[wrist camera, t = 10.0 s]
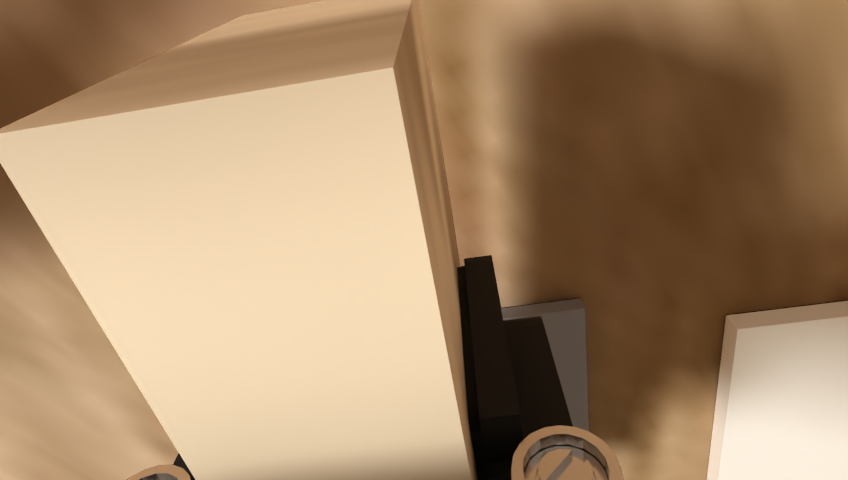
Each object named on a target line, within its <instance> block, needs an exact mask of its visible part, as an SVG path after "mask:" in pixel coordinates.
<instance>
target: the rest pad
mask: <svg viewBox="0 0 848 480" xmlns="http://www.w3.org/2000/svg"><path fill="white" fill-rule="evenodd" d="M707 480H848V301H842V302H834V303H825V304H817V305H809V306H801V307H792V308H784V309H776V310H767V311H759V312H751V313H743V314H734V315H726V320H725V329H724V337H723V346H722V354H721V363H720V371H719V380H718V388H717V397H716V406H715V414H714V423H713V431H712V440H711V448H710V457H709V465H708V474H707Z"/></svg>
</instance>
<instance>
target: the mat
mask: <svg viewBox="0 0 848 480" xmlns="http://www.w3.org/2000/svg"><path fill="white" fill-rule="evenodd" d="M501 311H502V316H503V320H511V319H520V318H528V317H537V316H541V318H542V321H543V323H544V327H545V330H546V334H547V337H548V341H549V344H550V348H551V351H552V355H553V358H554V362H555V365H556V369H557V372H558V376H559V379H560V383H561V386H562V390H563V393H564V397H565V400H566V404H567V407H568V411H569V414H570V418H571V421H572V425H573V427H577V428H580V429H583V430H586V431H588V432H589V415H588V381H587V348H586V315H585V306H584V304H583V302H582V300H581V298H579V299H571V300H564V301H556V302H548V303H540V304H532V305H524V306H516V307H508V308H501Z"/></svg>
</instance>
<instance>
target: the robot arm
mask: <svg viewBox="0 0 848 480" xmlns="http://www.w3.org/2000/svg"><path fill="white" fill-rule="evenodd" d="M464 263H465V266H461V267H457V272H458V286H459V301H460V315H461V329H462V343H463V357H464V371H465V385H466V399H467V411H468V419H469V427H470V434H471V439H472V445H473V451H474V456H475V462H476V468H477V473H478V479H479V480H624V478H623V474H622V469H621V466H620V464H619V462H618V459H617V457H616V455H615V453H614V452H613V451H612V450H611V448H610V447H609V446H608V445H607V444H606V443H605V441H603V440H602V439H600V438H599V437H597V436H596V435H594V434H593V433H591V432H588V431H586V430H583V429H580V428H577V427H573V425H572V421H571V418H570V414H569V411H568V407H567V404H566V400H565V397H564V393H563V390H562V386H561V383H560V379H559V376H558V372H557V369H556V365H555V362H554V358H553V355H552V351H551V348H550V344H549V341H548V337H547V334H546V330H545V327H544V323H543V321H542V318H541V316H537V317H528V318H520V319H511V320H503V316H502V311H501V305H500V300H499V294H498V289H497V283H496V278H495V272H494V267H493V261H492V256H491V255H489V256H482V257H474V258H466V259H464ZM127 480H195V478H194V477H193V475H192V473H191V472H190V470H189V468H188V467H187V465H186V464H185V462H184V460H183V459H182V457H181V455H180V454H178V456H177V458H176V460H175V462H174V464H173V465H158V466H155V467H152V468H148V469H145V470H143V471H141V472H139V473H137V474H135V475H133V476H131V477H129V478H128V479H127Z"/></svg>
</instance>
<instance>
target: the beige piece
mask: <svg viewBox="0 0 848 480" xmlns="http://www.w3.org/2000/svg"><path fill="white" fill-rule="evenodd" d="M0 164H1V165H2V167H3V169H4V170H5V172H6V173H7V175H8V177H9V178H10V180H11V182H12V183H13V185H14V186H15V188H16V190H17V191H18V193H19V194H20V196H21V198H22V199H23V201H24V203H25V204H26V206H27V207H28V209H29V211H30V212H31V214H32V216H33V217H34V219H35V220H36V222H37V224H38V225H39V227H40V229H41V230H42V232H43V233H44V235H45V237H46V238H47V240H48V241H49V243H50V245H51V246H52V248H53V250H54V251H55V253H56V254H57V256H58V258H59V259H60V261H61V263H62V264H63V266H64V267H65V269H66V271H67V272H68V274H69V276H70V277H71V279H72V280H73V282H74V284H75V285H76V287H77V289H78V290H79V292H80V293H81V295H82V297H83V298H84V300H85V301H86V303H87V305H88V306H89V308H90V310H91V311H92V313H93V314H94V316H95V318H96V319H97V321H98V323H99V324H100V326H101V327H102V329H103V331H104V332H105V334H106V336H107V337H108V339H109V340H110V342H111V344H112V345H113V347H114V348H115V350H116V352H117V353H118V355H119V357H120V358H121V360H122V361H123V363H124V365H125V366H126V368H127V370H128V371H129V373H130V374H131V376H132V378H133V379H134V381H135V383H136V384H137V386H138V387H139V389H140V391H141V392H142V394H143V396H144V397H145V399H146V400H147V402H148V404H149V405H150V407H151V408H152V410H153V412H154V413H155V415H156V417H157V418H158V420H159V421H160V423H161V425H162V426H163V428H164V430H165V431H166V433H167V434H168V436H169V438H170V439H171V441H172V443H173V444H174V446H175V447H176V449H177V451H178V452H179V454H180V455H181V457H182V459H183V460H184V462H185V464H186V465H187V467H188V468H189V470H190V472H191V473H192V475H193V477H194V478H195V480H479V479H478V473H477V468H476V462H475V456H474V451H473V445H472V439H471V434H470V427H469V419H468V411H467V399H466V385H465V371H464V357H463V343H462V329H461V315H460V301H459V286H458V272H457V267H460V261H459V254H458V248H457V241H456V235H455V229H454V222H453V216H452V209H451V203H450V197H449V190H448V184H447V177H446V171H445V165H444V158H443V152H442V145H441V139H440V133H439V126H438V120H437V113H436V107H435V101H434V94H433V88H432V81H431V75H430V69H429V62H428V56H427V49H426V43H425V37H424V30H423V24H422V17H421V11H420V5H419V0H324V1H318V2H313V3H307V4H302V5H296V6H291V7H285V8H280V9H275V10H269V11H264V12H258V13H253V14H247V15H242V16H240V17H238V18H236V19H234V20H231V21H229V22H227V23H225V24H223V25H221V26H219V27H216V28H214V29H212V30H210V31H208V32H206V33H204V34H201V35H199V36H197V37H195V38H193V39H191V40H189V41H186V42H184V43H182V44H180V45H178V46H176V47H174V48H171V49H169V50H167V51H165V52H163V53H161V54H159V55H156V56H154V57H152V58H150V59H148V60H146V61H144V62H142V63H139V64H137V65H135V66H133V67H131V68H129V69H127V70H124V71H122V72H120V73H118V74H116V75H114V76H112V77H109V78H107V79H105V80H103V81H101V82H99V83H97V84H94V85H92V86H90V87H88V88H86V89H84V90H82V91H79V92H77V93H75V94H73V95H71V96H69V97H67V98H65V99H62V100H60V101H58V102H56V103H54V104H52V105H50V106H47V107H45V108H43V109H41V110H39V111H37V112H35V113H32V114H30V115H28V116H26V117H24V118H22V119H20V120H17V121H15V122H13V123H11V124H9V125H7V126H5V127H2V128H0Z"/></svg>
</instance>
